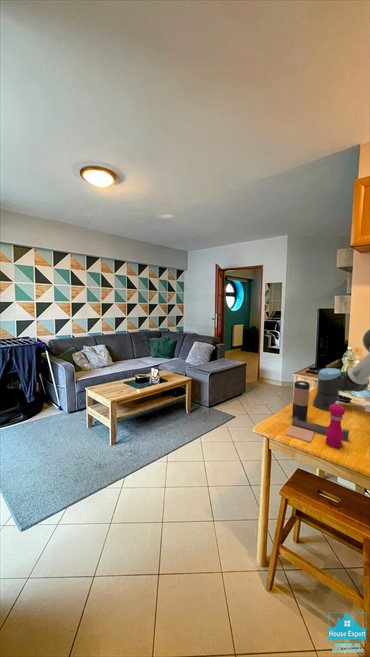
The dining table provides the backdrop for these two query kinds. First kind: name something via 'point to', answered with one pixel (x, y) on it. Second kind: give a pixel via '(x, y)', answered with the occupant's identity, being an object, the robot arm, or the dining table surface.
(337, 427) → the pepper mill
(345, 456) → the dining table surface
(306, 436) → the end tile
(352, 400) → the dining table surface
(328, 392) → the robot arm
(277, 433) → the dining table surface
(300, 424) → the handrail
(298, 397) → the travel mug
